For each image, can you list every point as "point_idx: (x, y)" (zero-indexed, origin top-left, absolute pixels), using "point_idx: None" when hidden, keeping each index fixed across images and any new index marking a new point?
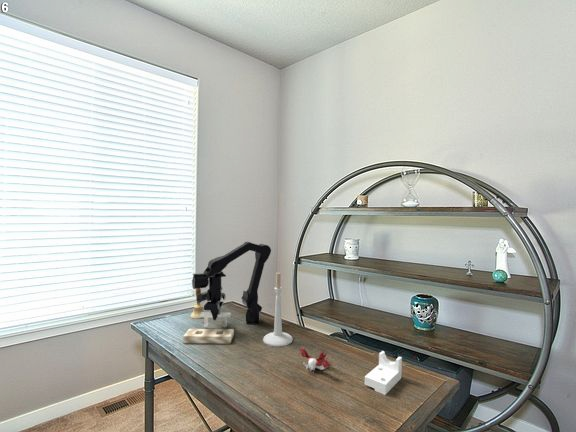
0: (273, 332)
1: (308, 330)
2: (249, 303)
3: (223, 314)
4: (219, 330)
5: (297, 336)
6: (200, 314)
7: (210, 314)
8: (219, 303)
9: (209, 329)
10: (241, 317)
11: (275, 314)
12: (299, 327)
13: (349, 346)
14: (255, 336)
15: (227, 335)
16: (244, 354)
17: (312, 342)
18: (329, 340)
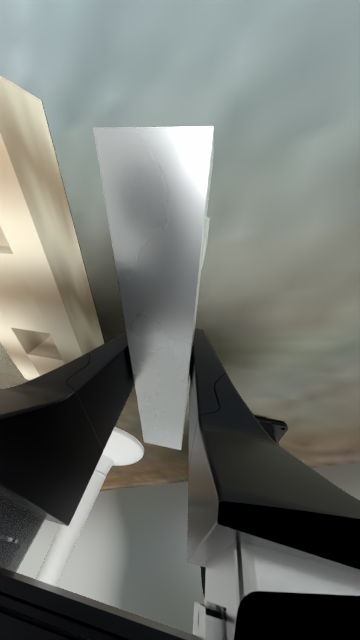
0: (114, 455)
1: (168, 481)
2: (203, 570)
3: (141, 416)
4: (61, 344)
5: (135, 464)
6: (100, 150)
7: (127, 326)
8: (189, 553)
9: (52, 291)
10: (334, 407)
11: (54, 541)
12: (186, 479)
13: (110, 486)
14: (120, 414)
15: (28, 371)
16: (9, 383)
17: (112, 469)
18: (126, 482)
